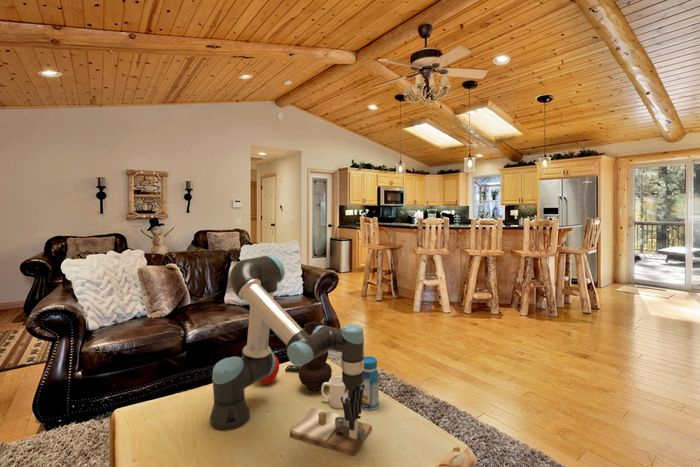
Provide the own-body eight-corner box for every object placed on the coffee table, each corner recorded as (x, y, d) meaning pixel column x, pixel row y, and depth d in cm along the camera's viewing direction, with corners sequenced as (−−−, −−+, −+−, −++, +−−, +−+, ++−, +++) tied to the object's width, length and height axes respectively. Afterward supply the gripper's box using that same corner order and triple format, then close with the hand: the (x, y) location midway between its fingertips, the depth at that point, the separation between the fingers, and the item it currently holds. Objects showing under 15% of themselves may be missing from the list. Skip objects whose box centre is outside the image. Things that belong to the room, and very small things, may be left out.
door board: (289, 436, 140) (289, 419, 139) (311, 413, 154) (311, 398, 153) (354, 455, 129) (354, 437, 128) (371, 429, 143) (371, 412, 143)
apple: (272, 374, 190) (271, 348, 188) (284, 382, 181) (283, 355, 179) (250, 381, 182) (249, 354, 181) (261, 391, 173) (260, 362, 172)
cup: (346, 409, 157) (346, 386, 156) (318, 407, 159) (318, 383, 158) (350, 399, 165) (350, 376, 164) (324, 396, 167) (323, 374, 166)
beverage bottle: (380, 410, 156) (379, 363, 154) (359, 411, 155) (358, 364, 154) (378, 399, 164) (378, 355, 162) (358, 400, 164) (358, 355, 162)
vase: (296, 383, 180) (294, 321, 177) (327, 378, 184) (326, 317, 182) (301, 399, 165) (299, 332, 162) (336, 393, 170) (334, 328, 167)
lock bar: (333, 432, 138) (333, 419, 138) (339, 428, 141) (338, 415, 140) (360, 445, 131) (360, 432, 131) (365, 441, 134) (365, 427, 133)
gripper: (353, 380, 123) (353, 450, 125) (371, 366, 134) (371, 431, 136) (333, 375, 127) (334, 443, 129) (352, 362, 138) (353, 425, 140)
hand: (353, 437), depth 132 cm, fingers closed
